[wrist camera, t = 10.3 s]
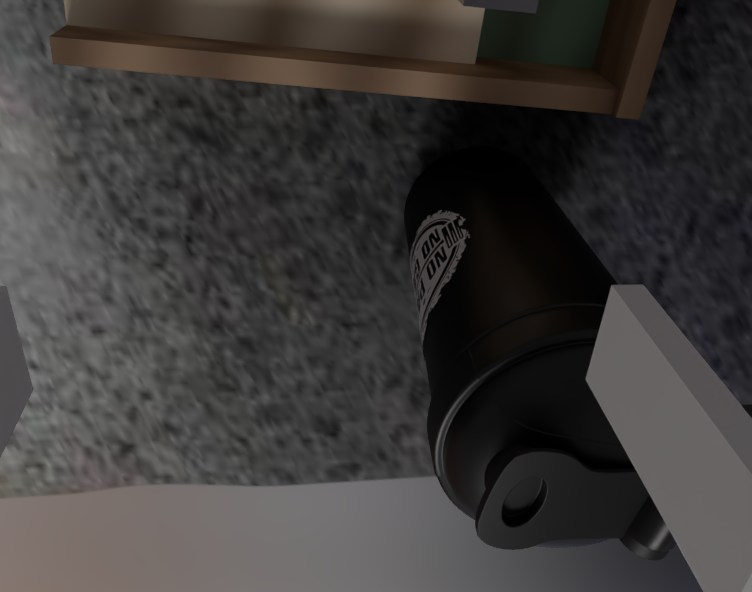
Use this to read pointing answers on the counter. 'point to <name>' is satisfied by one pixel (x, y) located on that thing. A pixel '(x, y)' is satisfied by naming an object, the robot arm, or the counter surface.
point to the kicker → (504, 5)
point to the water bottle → (518, 362)
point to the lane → (386, 47)
